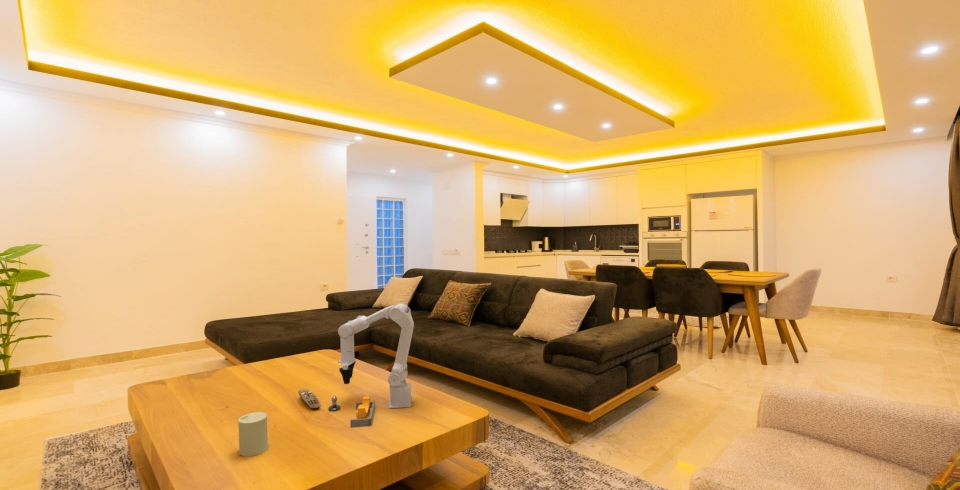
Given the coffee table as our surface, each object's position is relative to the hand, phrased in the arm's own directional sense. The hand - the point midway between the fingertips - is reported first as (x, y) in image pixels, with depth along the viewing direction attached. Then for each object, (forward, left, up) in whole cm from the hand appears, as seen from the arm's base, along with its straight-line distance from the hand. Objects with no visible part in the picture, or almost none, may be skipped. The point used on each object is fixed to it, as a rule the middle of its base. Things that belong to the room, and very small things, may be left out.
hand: (348, 380), depth 193 cm
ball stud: (+5, +6, -10) cm, 13 cm away
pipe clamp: (-8, +17, -10) cm, 21 cm away
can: (+27, +37, -10) cm, 47 cm away
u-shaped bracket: (-8, +16, -10) cm, 20 cm away
